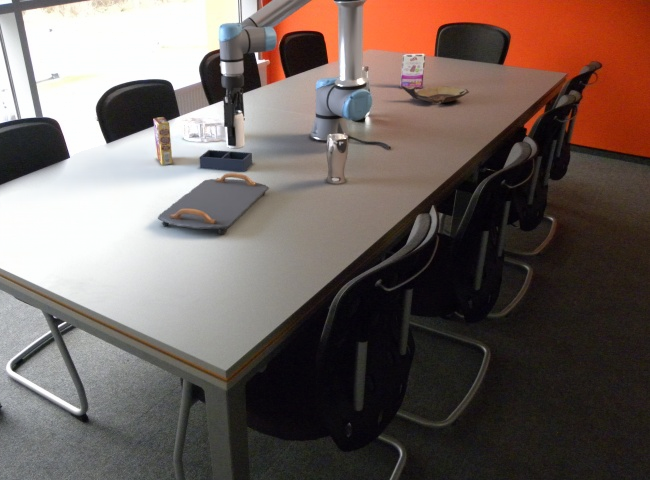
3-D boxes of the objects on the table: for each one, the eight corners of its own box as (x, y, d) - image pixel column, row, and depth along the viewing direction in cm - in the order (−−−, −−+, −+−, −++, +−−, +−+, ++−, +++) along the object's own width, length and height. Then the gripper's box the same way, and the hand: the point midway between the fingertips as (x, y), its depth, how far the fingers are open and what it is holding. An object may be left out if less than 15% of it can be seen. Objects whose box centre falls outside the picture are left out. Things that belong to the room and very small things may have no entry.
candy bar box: (421, 86, 321) (425, 53, 312) (422, 88, 316) (425, 54, 308) (399, 86, 322) (402, 53, 314) (400, 88, 318) (403, 55, 310)
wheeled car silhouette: (236, 136, 252) (235, 119, 248) (224, 144, 244) (223, 126, 240) (194, 132, 260) (192, 115, 256) (181, 140, 251) (179, 122, 247)
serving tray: (224, 240, 167) (223, 219, 164) (151, 230, 175) (148, 209, 171) (273, 191, 197) (273, 173, 194) (209, 184, 205) (208, 166, 202)
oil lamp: (461, 109, 278) (463, 91, 274) (396, 103, 291) (398, 87, 287) (471, 98, 295) (473, 81, 291) (410, 93, 307) (411, 77, 303)
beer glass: (348, 178, 206) (350, 133, 198) (344, 185, 200) (346, 140, 192) (328, 176, 208) (329, 132, 200) (323, 183, 202) (324, 138, 195)
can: (242, 149, 213) (241, 114, 206) (224, 148, 214) (222, 114, 208) (246, 144, 218) (245, 109, 212) (228, 143, 219) (227, 109, 213)
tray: (252, 163, 222) (251, 152, 220) (244, 171, 215) (243, 160, 213) (209, 160, 227) (208, 149, 225) (200, 168, 220) (199, 157, 218)
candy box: (173, 163, 225) (169, 122, 217) (162, 165, 224) (157, 123, 216) (168, 157, 232) (163, 116, 224) (157, 158, 231) (152, 118, 223)
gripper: (231, 68, 212) (235, 134, 224) (211, 79, 197) (215, 149, 208) (252, 69, 210) (254, 135, 222) (232, 80, 194) (236, 151, 206)
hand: (235, 142), depth 215 cm, fingers closed on can, 6 cm apart
